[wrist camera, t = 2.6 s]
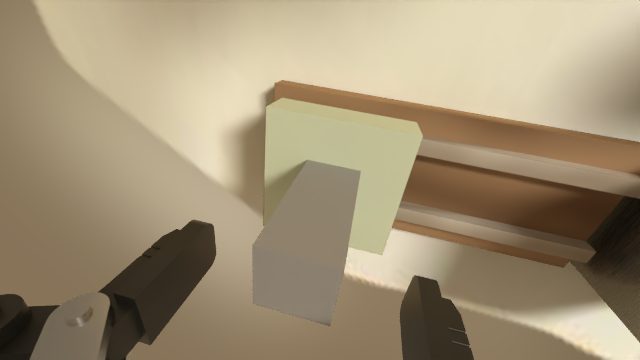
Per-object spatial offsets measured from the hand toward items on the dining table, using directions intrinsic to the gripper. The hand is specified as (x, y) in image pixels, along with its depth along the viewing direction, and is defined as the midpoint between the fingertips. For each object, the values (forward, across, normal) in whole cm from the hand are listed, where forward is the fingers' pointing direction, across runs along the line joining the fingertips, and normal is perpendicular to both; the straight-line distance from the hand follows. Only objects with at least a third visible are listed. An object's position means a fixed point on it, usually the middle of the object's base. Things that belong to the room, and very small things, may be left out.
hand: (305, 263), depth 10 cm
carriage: (+8, 0, 0) cm, 8 cm away
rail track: (+11, -6, 0) cm, 12 cm away
